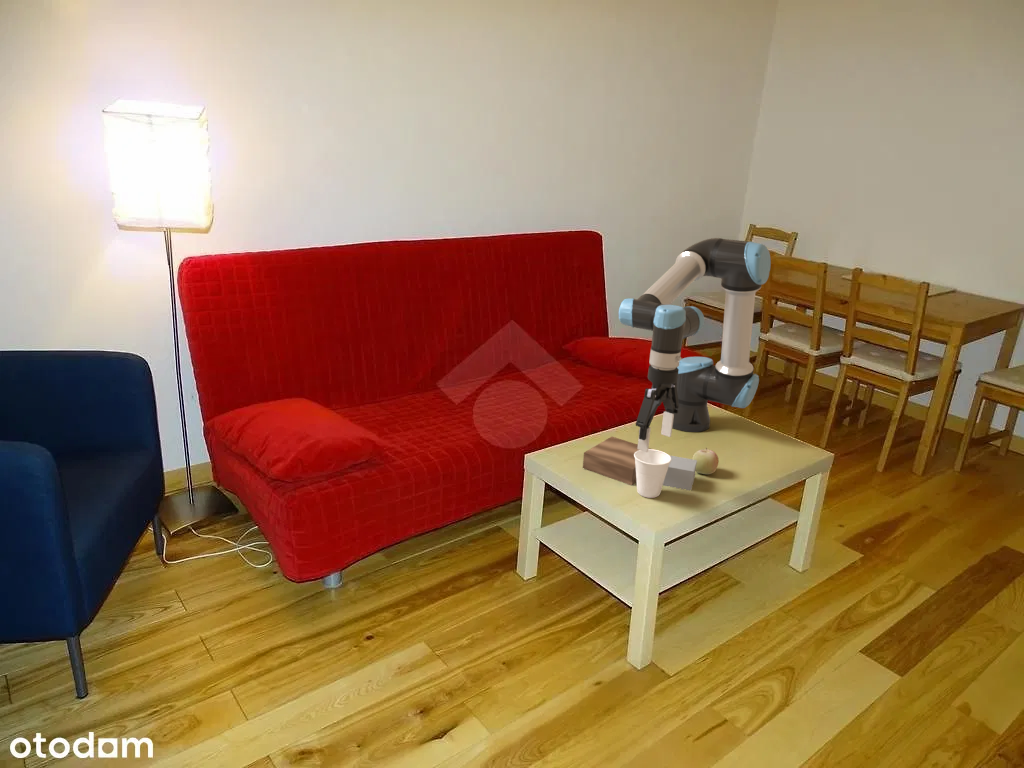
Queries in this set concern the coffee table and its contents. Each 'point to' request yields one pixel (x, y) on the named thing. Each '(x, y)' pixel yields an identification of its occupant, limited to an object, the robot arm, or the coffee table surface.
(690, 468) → the grey block
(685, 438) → the coffee table surface
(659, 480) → the cup
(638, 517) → the coffee table surface
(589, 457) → the walnut block
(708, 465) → the fruit
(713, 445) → the coffee table surface
